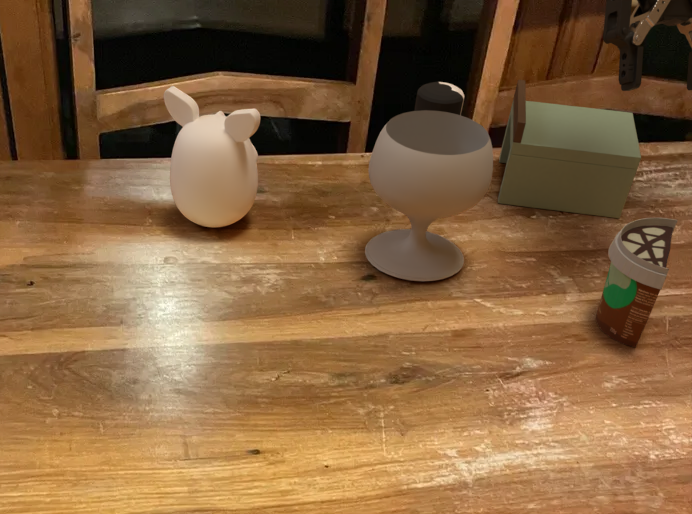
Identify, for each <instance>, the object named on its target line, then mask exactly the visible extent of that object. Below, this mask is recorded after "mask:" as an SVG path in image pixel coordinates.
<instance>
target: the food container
mask: <svg viewBox="0 0 692 514" xmlns="http://www.w3.org/2000/svg"><path fill="white" fill-rule="evenodd" d="M677 224H678V219H675V218H669V217H645V218H639V219H636V220H632V221H629V222H628V223H626V224H625V225H624V226H623V227H622V228H621V229H620V230H619V231H618V232H617V233H616V235H615V236H614V238H613V240H612V241H611V243H610V244H609V246H608V250H607V255H608V259H609V260H610V265H609V268H608V271H607V276H606V280H605V283H604V286H603V290H602V293H601V297H600V300H599V304H598V308H597V311H596V315H595V321H596V324H597V327H598V328H599V329H600V330H601V332H603V333H604V334H605V335H606V336H607V337H609V338H610V339H612V340H613V341H616V342H618V343H620V344H622V345H626V346H629V347H632V348H637V346H638V343H639V341H640V339H641V336H642V334H643V332H644V330H645V327H646V324H647V322H648V320H649V318H650V316H651V313H652V311H653V308H654V306H655V304H656V301H657V299H658V296H659V295H660V292H661V290H662V289H663V287H664V284H665V281H666V279H667V276H668V273H669V271H670V268H668V267H667V265H668V261H669V257H670V251H671V244H672V239H673V238H672V237H673V233H674V231H675V228H676V226H677Z"/></svg>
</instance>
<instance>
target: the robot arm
mask: <svg viewBox="0 0 692 514" xmlns="http://www.w3.org/2000/svg"><path fill="white" fill-rule="evenodd" d="M605 1H606V2H605V12H604V21H603V22H604V23H603V33H602V34H603V35H602V41H603V43H604V44H606V45H609V44H612V45H613V46H615V47H617V50H619V60H618V61H619V63H618V68H619V69H618V83H619V85H620V89H621V91H622V92H630V91H635V90H637V89H639V88H640V87H641V85H642V78H643V77H642V75H643V63H644V62H643V61H644V46H641V44H643V42H644V40H645V39H646V37H647V35H648V34H649V32H650V30H651V29H652V28H653V27H654V26H655V27H656V26H658V25H662V24H663V25H665V26H667V27H674V26H676V27H677V29H678V32H679V33H680V34H682V35H684V36H685V38H686V40H687V42H688V44H689V47H690V48H691V50H692V0H636V2H637V5H636V7H635V8H634V10H633V11H632V4H633V0H605ZM687 65H688V66H687V75H686V77H687V78H686V90H687V91H692V51H689V54H688V64H687Z"/></svg>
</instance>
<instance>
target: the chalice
mask: <svg viewBox="0 0 692 514" xmlns="http://www.w3.org/2000/svg"><path fill="white" fill-rule="evenodd" d="M493 170H494V149H493V145H492V139H491V137H490V135H489V132H488V130H487V129H486V128H485V127H484V126H483V125H482V124H480V123H479V122H477V121H475V120H473V119H471V118H470V117H467V116H463V115H461V116H460V115H457V114H453V113H448V112H441V111H427V110H424V111H414V110H412V111H407V112H402V113H400V114H397V115H395V116H393V117H391V118H390V119H389V121H387V122H386V124H385V125H384V126H383V127H382V129H381V131H380V132H379V134H378V136H377V138H376V140H375V144H374V146H373V149H372V152H371V154H370V159H369V162H368V178H369V183H370V185H371V187H372V189H373V190H374V192H375V194H376V196H377V197H378V198H379V199H380V200H381V201H382V202H383V203H385V204H386V205H388V206H389V207H390V208H392V209H394V210H395V211H398V212H399V213H401V214H403V215H405V216H406V218H407V219H408V220H409V223H410V228H398V229H391V230H387V231H384V232H381V233H379V234H377V235H375V236H373V237H372V238H371V239H369V241H367V243H366V245H365V247H364V255H365V257H366V259H367V261H368V262H369V263H370V264H371V265H372V266H373V267H375V268H376V269H377V270H378V271H380V272H382V273H384V274H385V275H389V276H391V277H394V278H397V279H400V280H401V279H402V280H406V281H414V282H434V281H440V280H444V279H447V278H450V277H452V276H453V275H455V274H457V273H459V271H460V270H461V269H463V266H464V263H465V258H464V254H463V251H461V249H460V248H459V247H458V246H457V244H455V242H453V241H451V240H449V239H448V238H447V237H444V236H443V235H441V234H438V233H434V232H432V231H431V232H430V231H428V229H429V227H430V226H431V224H432V223H434V222H435V221H437V220H439V219H445V218H450V217H455V216H458V215H460V214H463V213H465V212H467V211H469V210H470V209H473V208H474V207H475V206H477V204H479V203H480V202H481V201H482V200H483V198H484V197H485V196H486V194H487V193H488V191H489V189H490V186H491V183H492V178H493Z"/></svg>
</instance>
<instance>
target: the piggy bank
mask: <svg viewBox="0 0 692 514" xmlns="http://www.w3.org/2000/svg"><path fill="white" fill-rule="evenodd" d="M163 102H164V105H165V108H166V110H167V112H168V113H169V115H170V117H171V118H172V119H173V120H174V121H175V123H177V124H178V125H180V126H181V127H182V128H181V129H180V130H179V132H178V134H177V135H176V137H175V141H174V144H173V147H172V152H171V157H170V163H169V165H170V166H169V186H170V192H171V196H172V200H173V203H174V204H175V206H176V208H177V210H178V211H179V212H180V213H181V215H183V217H185V218H186V219H187V220H189V221H190V222H192V223H194V224H195V225H198V226H201V227H207V228H224V227H227V226H230V225H232V224H235V223H236V222H239V221H240V220H241V219H243V218H244V217H246V215H247V214H248V212H250V210H251V209H252V208H253V205H254V203H255V200H256V197H257V194H258V189H259V174H258V173H259V172H258V171H259V170H258V165H257V163H258V160H259V154H258V151H257V150H256V147H255V146H254V145H253V143H252V140H251V139H250V138H251V137H252V136H253V135H254V134H255V133H256V132H257V131H258V129H259V127H260V124H261V114H260V111H259V110H258V109H257V108H242V109H236V110H234V111H232V112H231V113H229V114H228V115H227V116H226V115H225V113H224V111H222V110H219V111H217V112H216V113H214V114H213V113H211V114H204V115H200V108H199V105H198V103H197V101H196V100H195V99H194V98H192V96H190V95H189V94H187V93H186V92H185V91H182V90H181V89H179V88H177V87H176V86H174V85H171V86H170V87H169V88H167V89H165V90H164V92H163Z"/></svg>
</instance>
